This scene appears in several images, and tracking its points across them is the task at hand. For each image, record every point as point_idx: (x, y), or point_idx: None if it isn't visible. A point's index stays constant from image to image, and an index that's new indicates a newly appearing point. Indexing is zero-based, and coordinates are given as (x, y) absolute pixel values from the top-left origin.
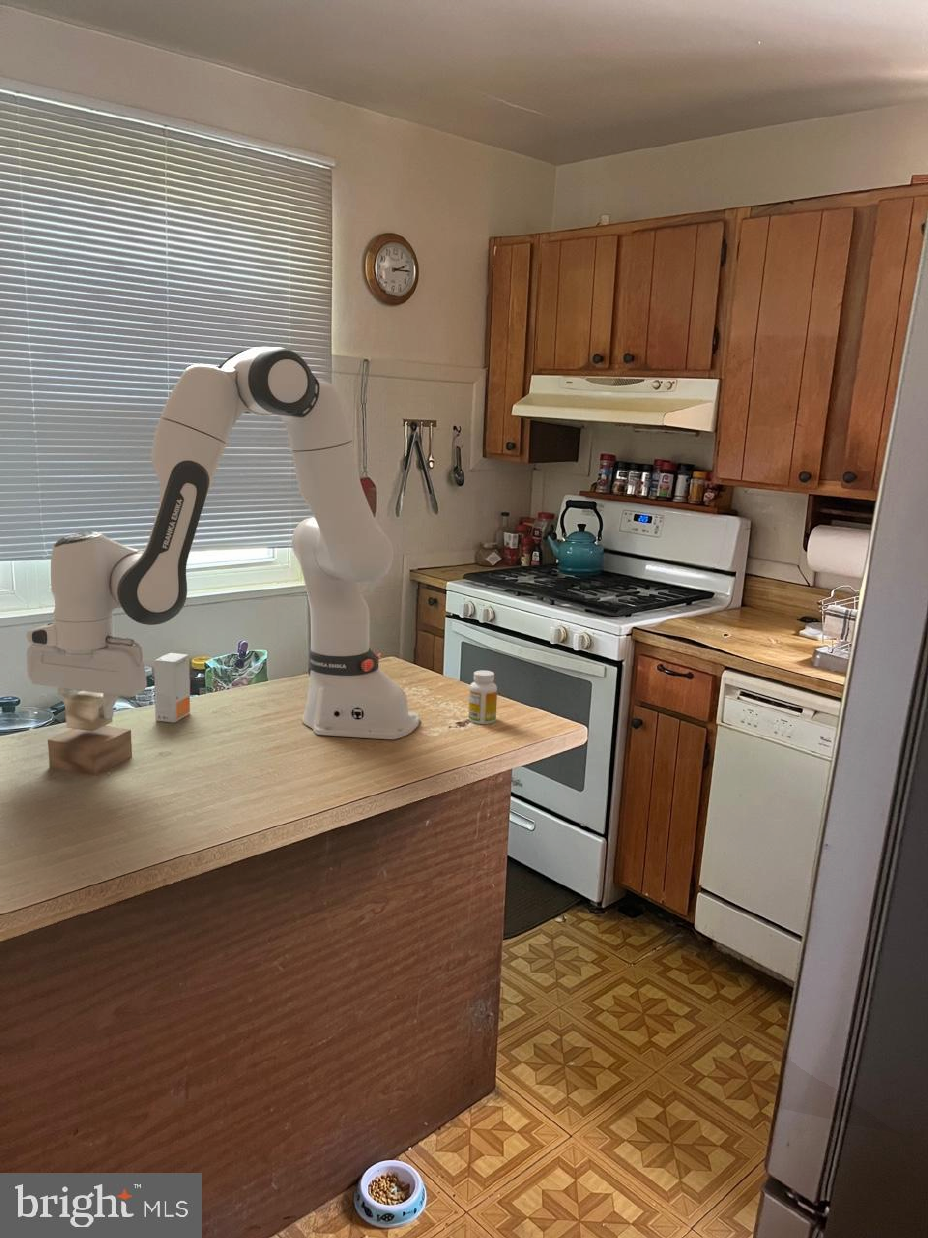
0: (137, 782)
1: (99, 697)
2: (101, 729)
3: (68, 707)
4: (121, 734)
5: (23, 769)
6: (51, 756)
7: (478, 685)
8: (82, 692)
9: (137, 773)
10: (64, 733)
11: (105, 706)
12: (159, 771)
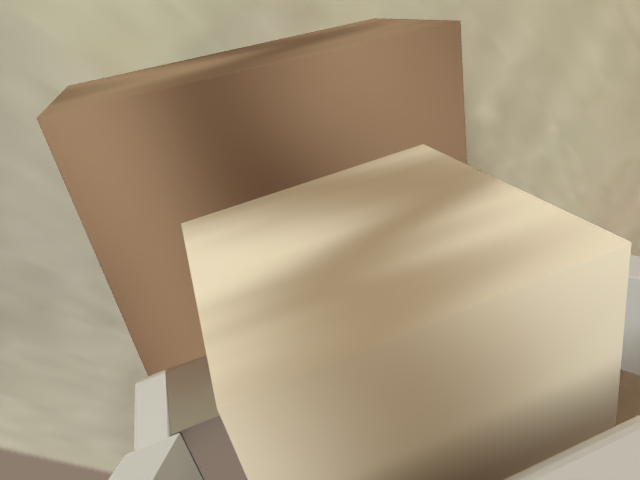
0: (570, 207)
1: (605, 410)
2: (284, 146)
3: None
4: (464, 125)
5: (103, 426)
6: None
7: None
8: (305, 476)
9: (524, 152)
10: (154, 348)
11: (626, 358)
12: (587, 81)
